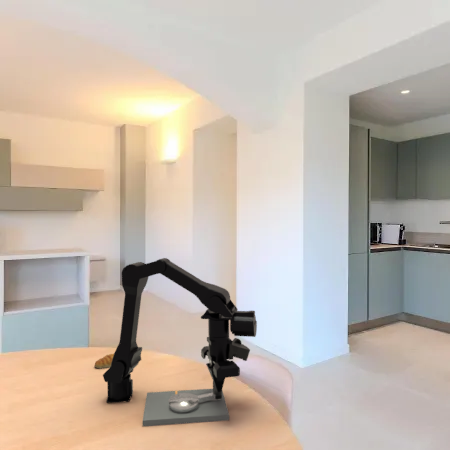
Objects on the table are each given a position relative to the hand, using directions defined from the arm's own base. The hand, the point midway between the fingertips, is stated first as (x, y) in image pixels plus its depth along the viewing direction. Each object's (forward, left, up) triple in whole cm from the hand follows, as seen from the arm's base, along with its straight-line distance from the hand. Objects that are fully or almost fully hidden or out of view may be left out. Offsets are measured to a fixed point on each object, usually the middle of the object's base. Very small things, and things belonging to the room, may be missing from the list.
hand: (219, 391), depth 108 cm
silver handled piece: (-6, 0, -3) cm, 7 cm away
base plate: (-9, +1, -5) cm, 10 cm away
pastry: (-35, +38, -5) cm, 52 cm away
